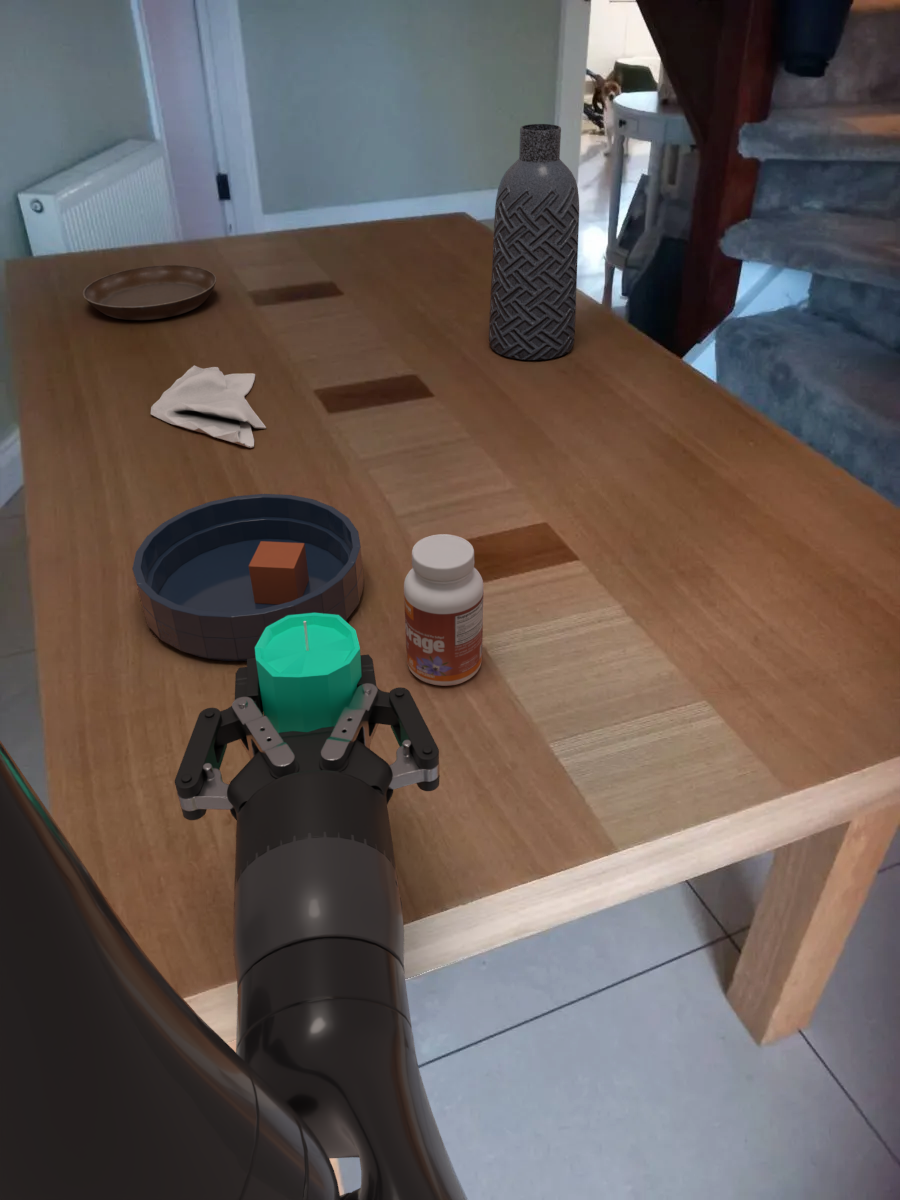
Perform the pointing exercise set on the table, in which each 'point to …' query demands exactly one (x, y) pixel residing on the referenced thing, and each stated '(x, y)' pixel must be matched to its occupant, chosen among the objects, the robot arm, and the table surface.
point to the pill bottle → (443, 611)
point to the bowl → (241, 571)
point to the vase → (535, 251)
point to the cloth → (211, 405)
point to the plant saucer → (150, 291)
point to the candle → (307, 670)
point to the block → (278, 572)
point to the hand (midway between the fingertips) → (304, 664)
